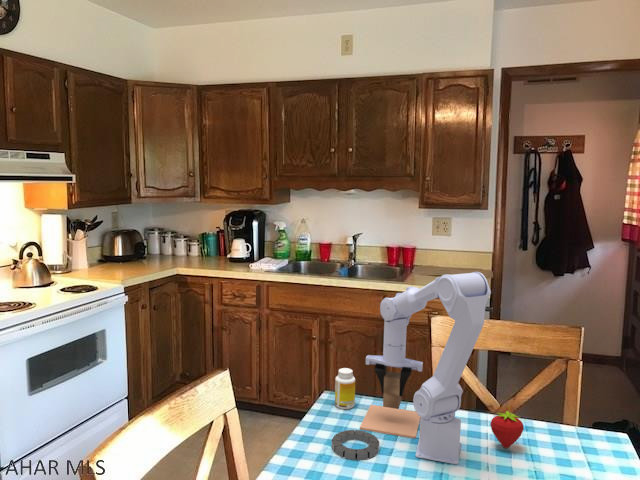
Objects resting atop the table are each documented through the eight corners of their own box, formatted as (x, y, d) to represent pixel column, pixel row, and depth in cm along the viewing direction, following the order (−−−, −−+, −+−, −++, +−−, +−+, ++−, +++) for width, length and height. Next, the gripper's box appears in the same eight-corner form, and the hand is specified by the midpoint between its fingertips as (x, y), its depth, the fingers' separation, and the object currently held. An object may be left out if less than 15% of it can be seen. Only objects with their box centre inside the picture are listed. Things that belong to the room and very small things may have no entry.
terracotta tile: (421, 414, 139) (421, 412, 139) (415, 438, 126) (415, 436, 125) (370, 406, 143) (370, 404, 143) (359, 429, 130) (359, 427, 130)
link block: (400, 402, 135) (401, 373, 134) (398, 408, 131) (399, 379, 130) (385, 400, 136) (386, 371, 135) (382, 406, 132) (384, 377, 131)
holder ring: (382, 440, 124) (382, 434, 124) (373, 463, 114) (374, 457, 114) (338, 432, 128) (339, 427, 127) (326, 455, 117) (326, 448, 117)
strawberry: (486, 440, 126) (488, 401, 124) (518, 442, 125) (520, 403, 124) (492, 452, 120) (494, 412, 119) (525, 455, 119) (528, 414, 118)
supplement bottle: (358, 406, 143) (359, 371, 141) (343, 411, 139) (344, 375, 138) (345, 399, 147) (346, 365, 146) (330, 404, 143) (331, 369, 142)
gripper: (424, 341, 133) (422, 391, 135) (370, 335, 138) (368, 383, 139) (422, 350, 127) (419, 402, 128) (364, 343, 131) (362, 394, 133)
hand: (392, 393), depth 133 cm, fingers closed on link block, 4 cm apart
